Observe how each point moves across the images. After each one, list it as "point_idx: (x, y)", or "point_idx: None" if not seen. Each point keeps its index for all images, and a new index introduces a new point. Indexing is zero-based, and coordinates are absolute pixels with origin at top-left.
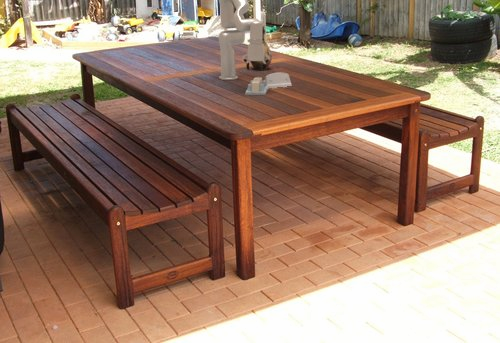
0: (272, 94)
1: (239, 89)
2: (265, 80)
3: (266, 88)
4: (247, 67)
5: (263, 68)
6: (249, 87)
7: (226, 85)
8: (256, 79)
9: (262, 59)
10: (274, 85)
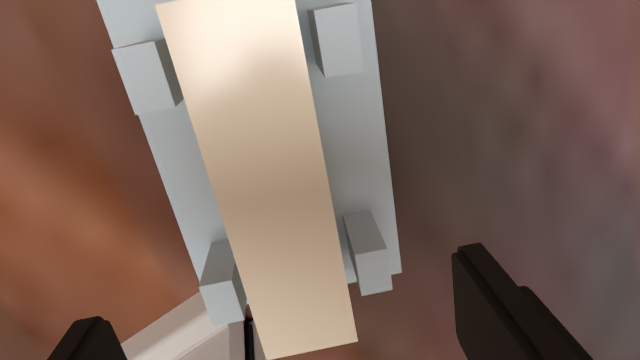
0: (31, 43)
1: (479, 192)
2: (213, 323)
3: (180, 209)
4: (508, 276)
5: (79, 352)
6: (328, 6)
7: (614, 302)
8: (296, 245)
9: None
10: (158, 343)
